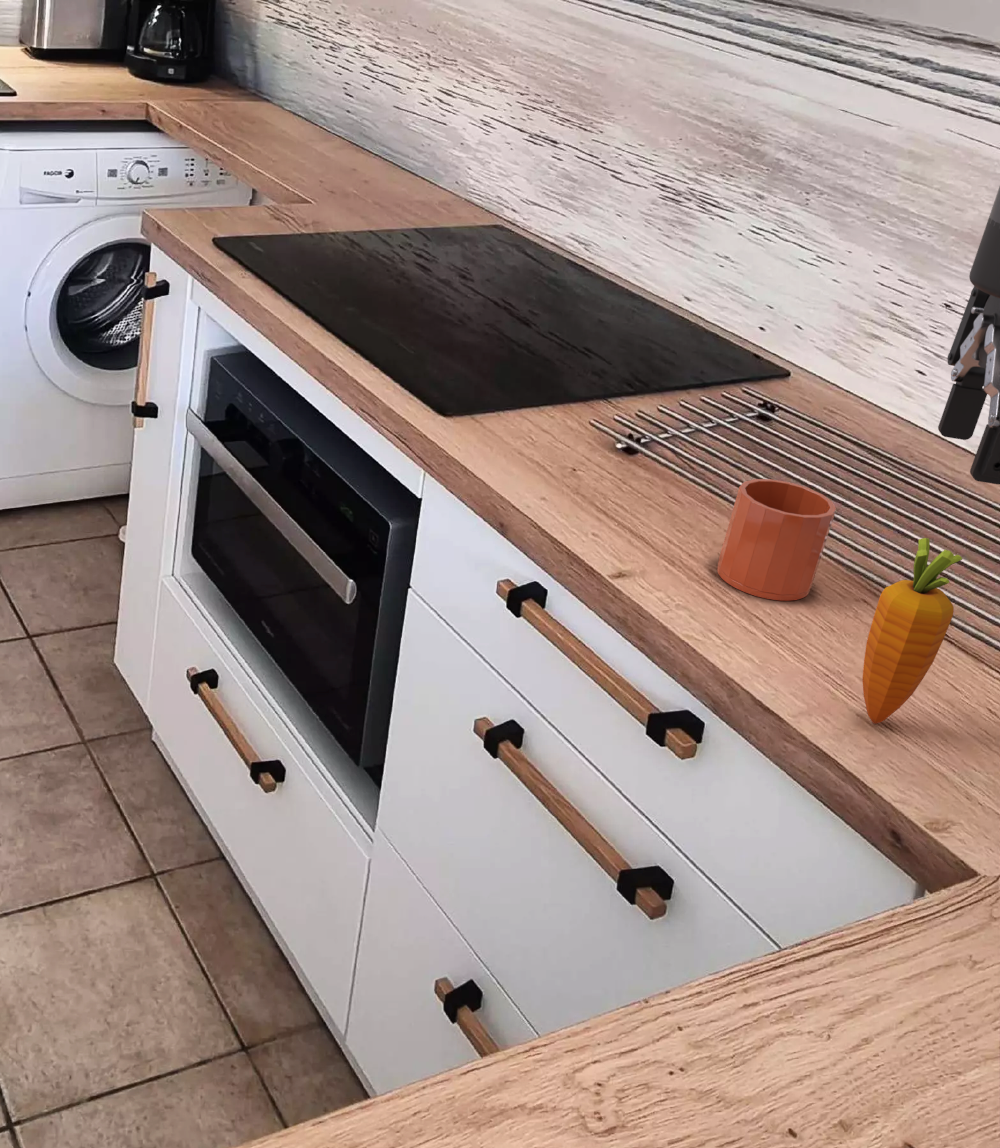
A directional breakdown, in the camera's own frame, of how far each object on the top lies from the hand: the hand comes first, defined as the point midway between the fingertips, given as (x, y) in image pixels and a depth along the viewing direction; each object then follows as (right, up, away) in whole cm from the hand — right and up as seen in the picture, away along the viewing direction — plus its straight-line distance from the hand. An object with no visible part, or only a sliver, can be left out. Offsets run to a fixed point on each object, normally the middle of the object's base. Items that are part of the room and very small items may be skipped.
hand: (969, 457), depth 103 cm
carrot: (-2, -19, +10) cm, 22 cm away
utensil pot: (-3, -8, +31) cm, 32 cm away
